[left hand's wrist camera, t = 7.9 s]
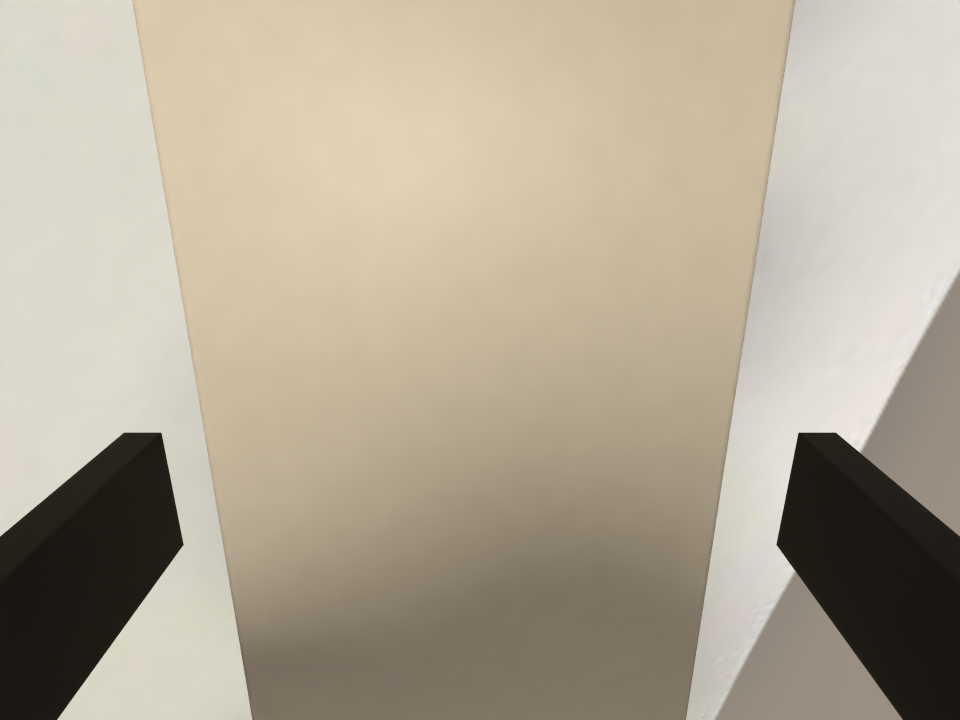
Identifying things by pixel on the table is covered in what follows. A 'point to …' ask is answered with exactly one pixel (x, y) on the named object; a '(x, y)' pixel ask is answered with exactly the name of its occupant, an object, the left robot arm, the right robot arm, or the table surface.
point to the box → (466, 334)
